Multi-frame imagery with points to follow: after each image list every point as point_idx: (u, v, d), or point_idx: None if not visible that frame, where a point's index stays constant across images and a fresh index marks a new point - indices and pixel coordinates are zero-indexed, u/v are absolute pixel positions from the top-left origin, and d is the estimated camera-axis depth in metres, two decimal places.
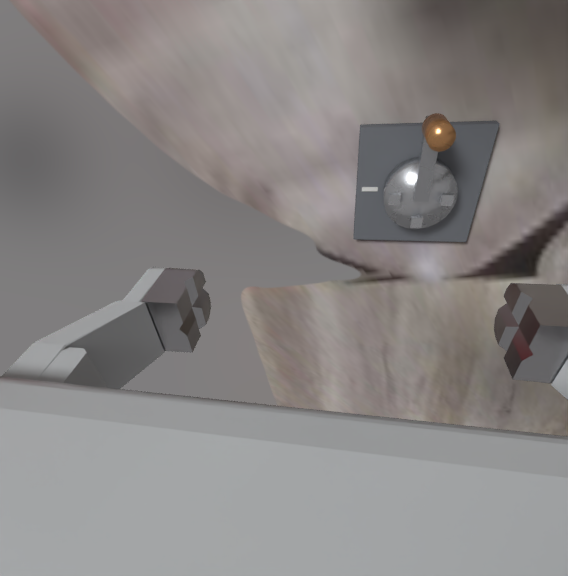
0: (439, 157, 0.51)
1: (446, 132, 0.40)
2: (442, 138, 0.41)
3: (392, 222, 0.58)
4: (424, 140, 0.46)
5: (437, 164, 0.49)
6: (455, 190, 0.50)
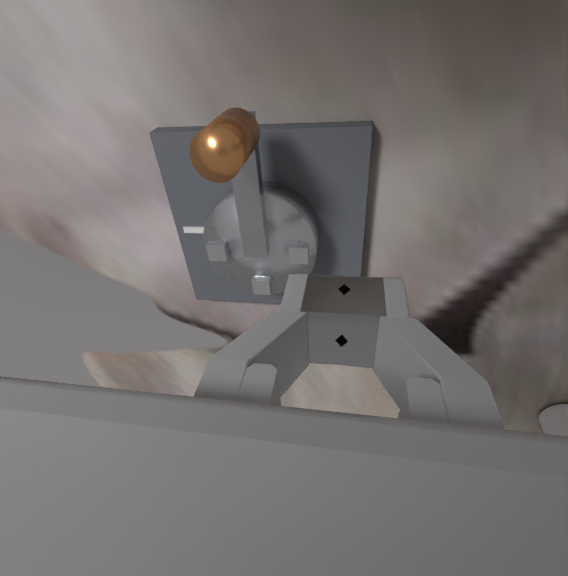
0: (288, 182, 0.30)
1: (219, 146, 0.20)
2: (216, 157, 0.20)
3: None
4: None
5: (272, 196, 0.28)
6: (310, 239, 0.30)
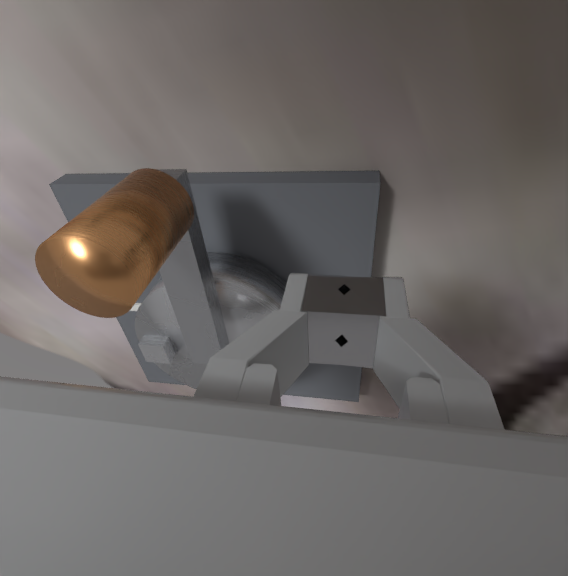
0: (255, 253, 0.21)
1: (89, 264, 0.10)
2: (89, 282, 0.11)
3: None
4: None
5: (228, 285, 0.19)
6: None
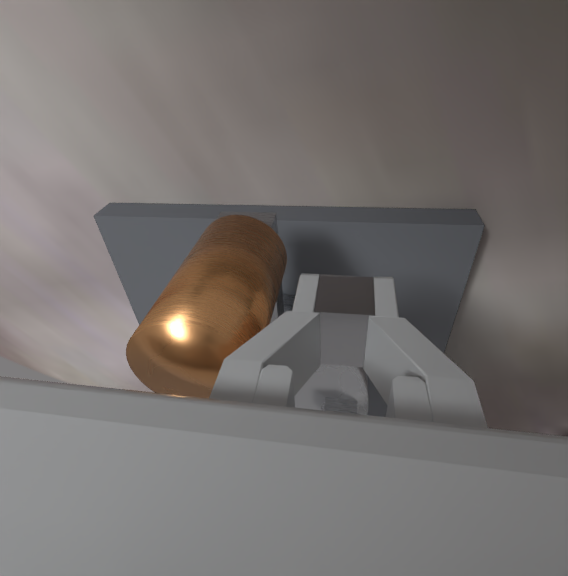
0: None
1: (200, 355, 0.08)
2: (193, 373, 0.08)
3: None
4: None
5: None
6: (361, 396, 0.18)
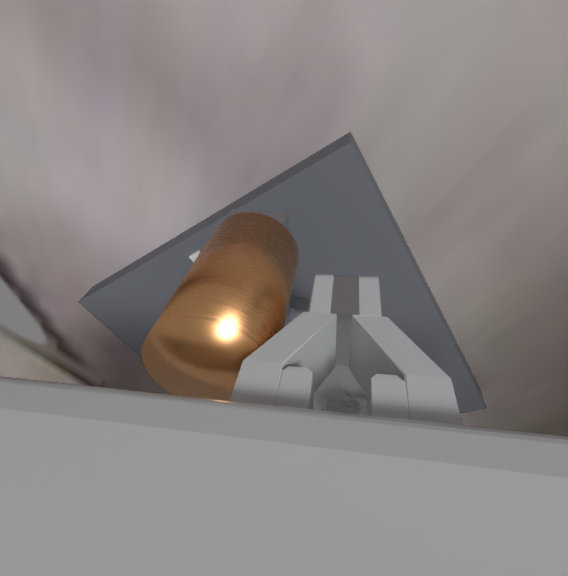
0: None
1: (219, 354, 0.08)
2: (210, 372, 0.08)
3: None
4: None
5: None
6: (363, 398, 0.18)
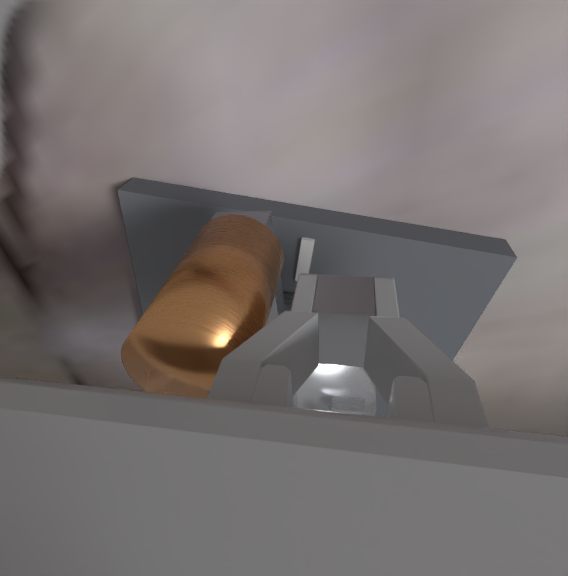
0: None
1: (194, 356, 0.08)
2: (189, 375, 0.08)
3: None
4: None
5: None
6: (368, 393, 0.17)
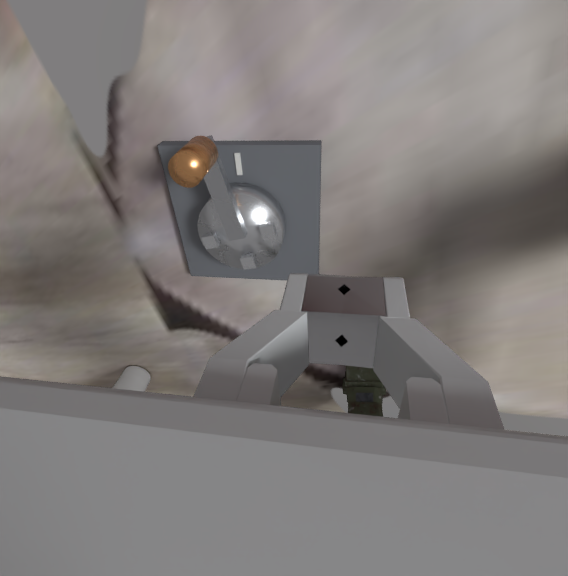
0: (284, 238, 0.45)
1: (186, 163, 0.30)
2: (186, 171, 0.31)
3: (196, 197, 0.43)
4: None
5: (239, 192, 0.38)
6: (274, 218, 0.39)
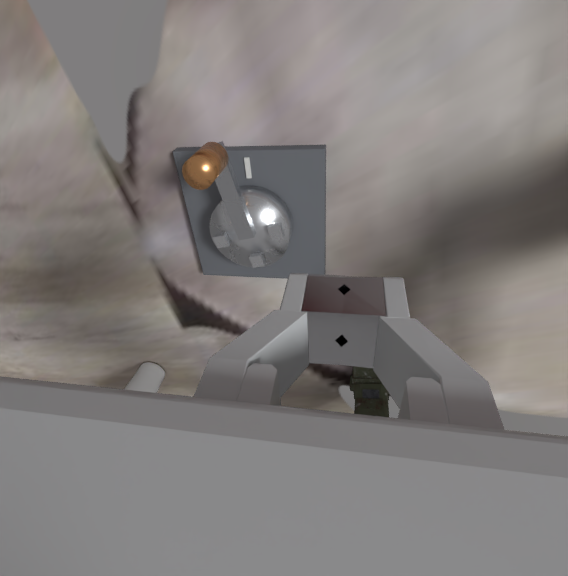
0: (292, 238, 0.47)
1: (198, 167, 0.33)
2: (198, 174, 0.33)
3: (208, 199, 0.45)
4: None
5: (248, 194, 0.41)
6: (281, 219, 0.42)
